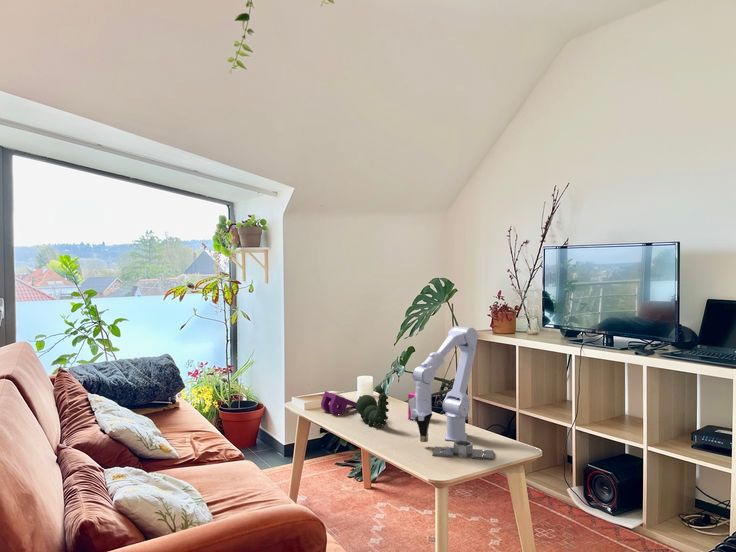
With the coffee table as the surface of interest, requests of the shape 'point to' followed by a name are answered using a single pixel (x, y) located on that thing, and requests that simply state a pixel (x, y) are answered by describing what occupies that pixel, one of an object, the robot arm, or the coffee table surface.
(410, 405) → the supplement box
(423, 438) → the hinge pin
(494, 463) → the coffee table surface
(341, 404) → the mounting bracket
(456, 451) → the hinge
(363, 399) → the toy figurine
